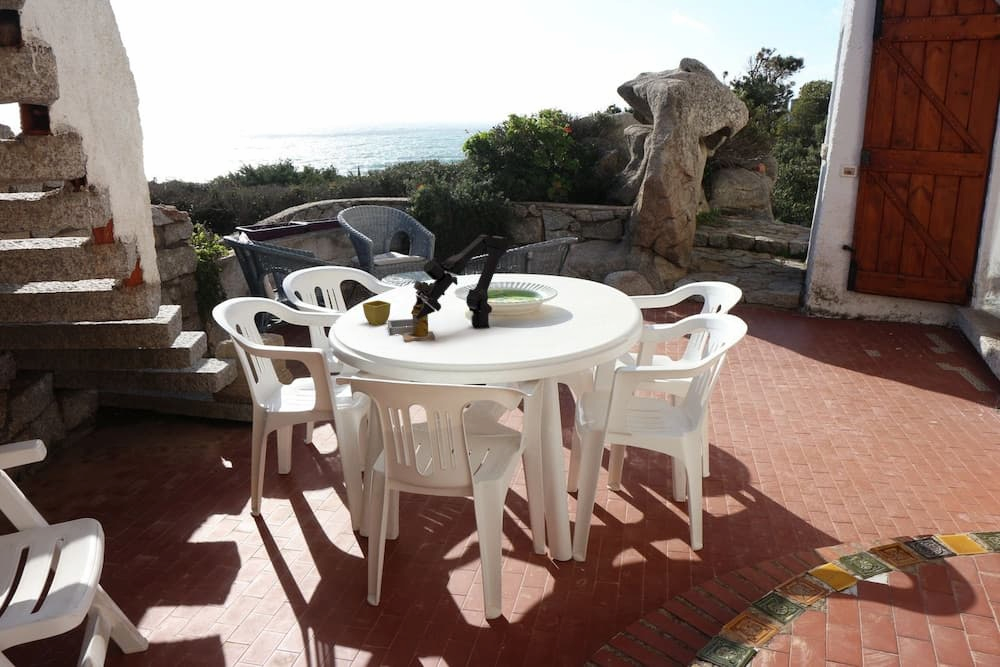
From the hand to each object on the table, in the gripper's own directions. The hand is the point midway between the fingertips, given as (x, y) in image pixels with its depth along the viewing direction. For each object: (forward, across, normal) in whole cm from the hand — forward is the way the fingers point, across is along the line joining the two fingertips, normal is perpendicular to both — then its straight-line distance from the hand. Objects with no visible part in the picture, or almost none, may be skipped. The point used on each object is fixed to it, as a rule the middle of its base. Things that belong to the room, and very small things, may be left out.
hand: (414, 316), depth 288 cm
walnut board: (+5, 0, +7) cm, 9 cm away
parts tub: (+7, -13, +6) cm, 16 cm away
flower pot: (+13, -29, 0) cm, 32 cm away
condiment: (+5, 0, +7) cm, 8 cm away
